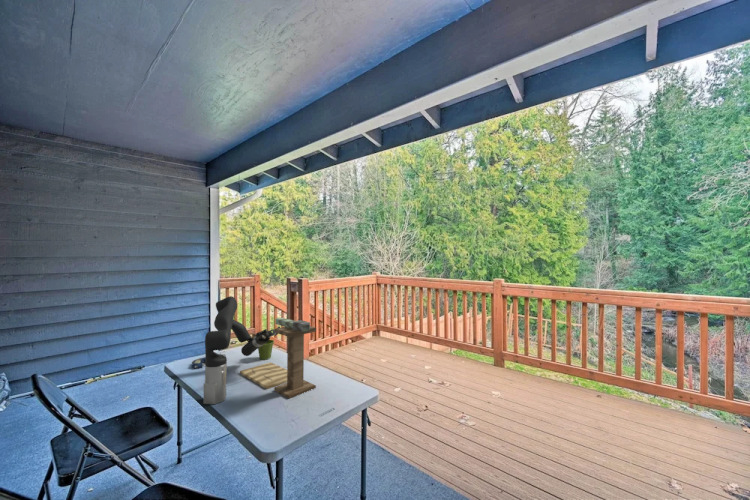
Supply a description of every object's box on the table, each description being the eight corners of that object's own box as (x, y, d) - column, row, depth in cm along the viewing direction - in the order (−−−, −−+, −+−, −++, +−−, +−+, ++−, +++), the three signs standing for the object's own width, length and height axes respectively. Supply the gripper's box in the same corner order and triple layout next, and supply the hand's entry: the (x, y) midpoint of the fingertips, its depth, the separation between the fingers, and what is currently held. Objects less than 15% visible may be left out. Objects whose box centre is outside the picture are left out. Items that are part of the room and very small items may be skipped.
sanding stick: (309, 330, 154) (310, 322, 154) (301, 331, 150) (301, 323, 150) (282, 322, 171) (282, 315, 172) (274, 324, 168) (274, 316, 168)
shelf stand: (315, 388, 159) (316, 327, 160) (289, 398, 147) (289, 333, 148) (300, 381, 168) (300, 323, 169) (274, 390, 156) (275, 328, 157)
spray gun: (230, 362, 197) (223, 357, 208) (230, 356, 197) (222, 351, 208) (194, 372, 182) (188, 366, 193) (194, 365, 183) (188, 359, 193)
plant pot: (256, 356, 210) (256, 340, 210) (274, 354, 213) (274, 338, 213) (255, 362, 198) (255, 344, 199) (273, 360, 202) (274, 343, 202)
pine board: (299, 378, 172) (299, 375, 172) (266, 389, 157) (266, 386, 157) (270, 364, 193) (270, 362, 194) (239, 373, 179) (239, 370, 179)
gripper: (248, 335, 179) (259, 325, 169) (270, 331, 189) (282, 321, 180) (251, 347, 176) (263, 338, 167) (273, 342, 186) (285, 333, 177)
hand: (273, 329), depth 173 cm, fingers open, 8 cm apart
